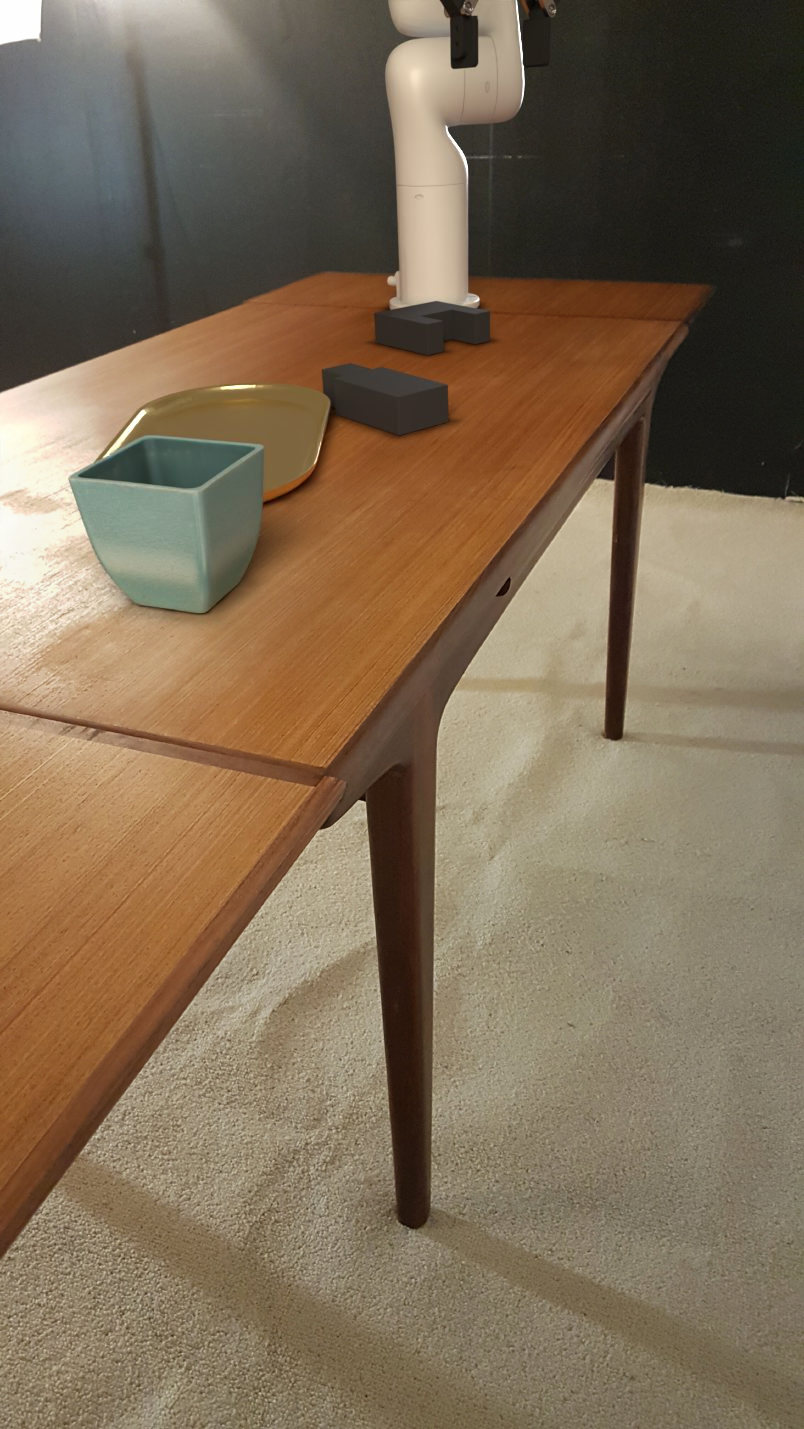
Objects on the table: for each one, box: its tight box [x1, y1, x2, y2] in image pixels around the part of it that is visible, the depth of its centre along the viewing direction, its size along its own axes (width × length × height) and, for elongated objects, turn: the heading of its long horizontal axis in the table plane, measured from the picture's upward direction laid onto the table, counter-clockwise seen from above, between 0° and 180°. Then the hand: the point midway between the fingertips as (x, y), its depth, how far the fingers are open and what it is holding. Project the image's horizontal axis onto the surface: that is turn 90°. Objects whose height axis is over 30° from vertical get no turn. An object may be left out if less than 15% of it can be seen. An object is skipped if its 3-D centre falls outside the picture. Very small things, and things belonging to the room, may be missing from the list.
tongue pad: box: [321, 362, 449, 436], centre depth 99 cm, size 14×6×4 cm, turn 39°
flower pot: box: [67, 435, 264, 614], centre depth 64 cm, size 9×9×9 cm
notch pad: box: [373, 301, 491, 356], centre depth 125 cm, size 10×10×4 cm
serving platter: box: [93, 382, 332, 504], centre depth 91 cm, size 19×35×2 cm, turn 179°
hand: (500, 67), depth 99 cm, fingers open, 9 cm apart
